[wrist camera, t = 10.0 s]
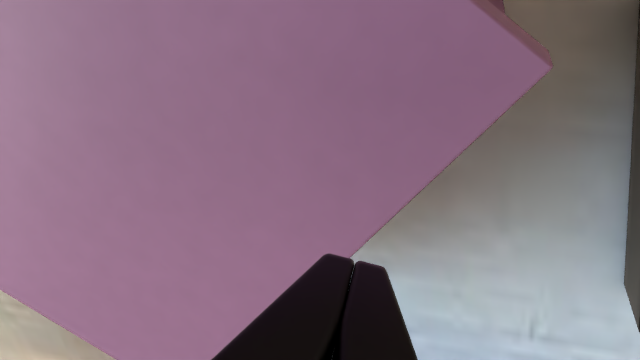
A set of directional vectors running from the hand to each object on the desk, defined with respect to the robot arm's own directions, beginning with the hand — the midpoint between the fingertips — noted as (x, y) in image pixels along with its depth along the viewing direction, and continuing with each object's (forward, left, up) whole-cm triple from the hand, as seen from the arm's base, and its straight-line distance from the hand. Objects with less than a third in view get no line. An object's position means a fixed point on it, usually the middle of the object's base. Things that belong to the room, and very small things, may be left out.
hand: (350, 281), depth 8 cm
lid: (+6, +4, -5) cm, 9 cm away
